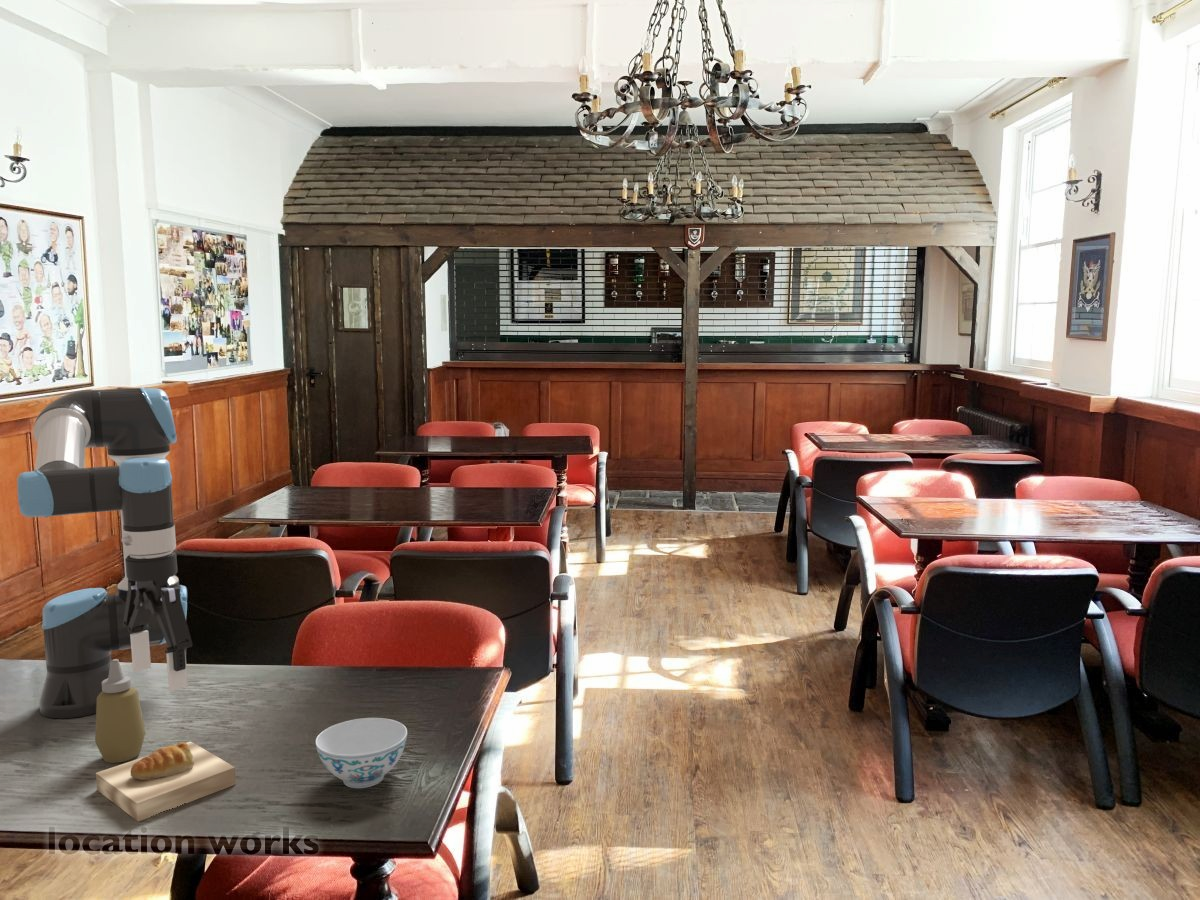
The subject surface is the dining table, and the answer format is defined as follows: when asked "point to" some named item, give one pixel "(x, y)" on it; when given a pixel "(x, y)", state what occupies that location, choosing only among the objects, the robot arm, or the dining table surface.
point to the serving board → (165, 785)
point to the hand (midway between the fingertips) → (159, 679)
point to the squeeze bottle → (118, 718)
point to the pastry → (164, 762)
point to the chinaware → (361, 749)
